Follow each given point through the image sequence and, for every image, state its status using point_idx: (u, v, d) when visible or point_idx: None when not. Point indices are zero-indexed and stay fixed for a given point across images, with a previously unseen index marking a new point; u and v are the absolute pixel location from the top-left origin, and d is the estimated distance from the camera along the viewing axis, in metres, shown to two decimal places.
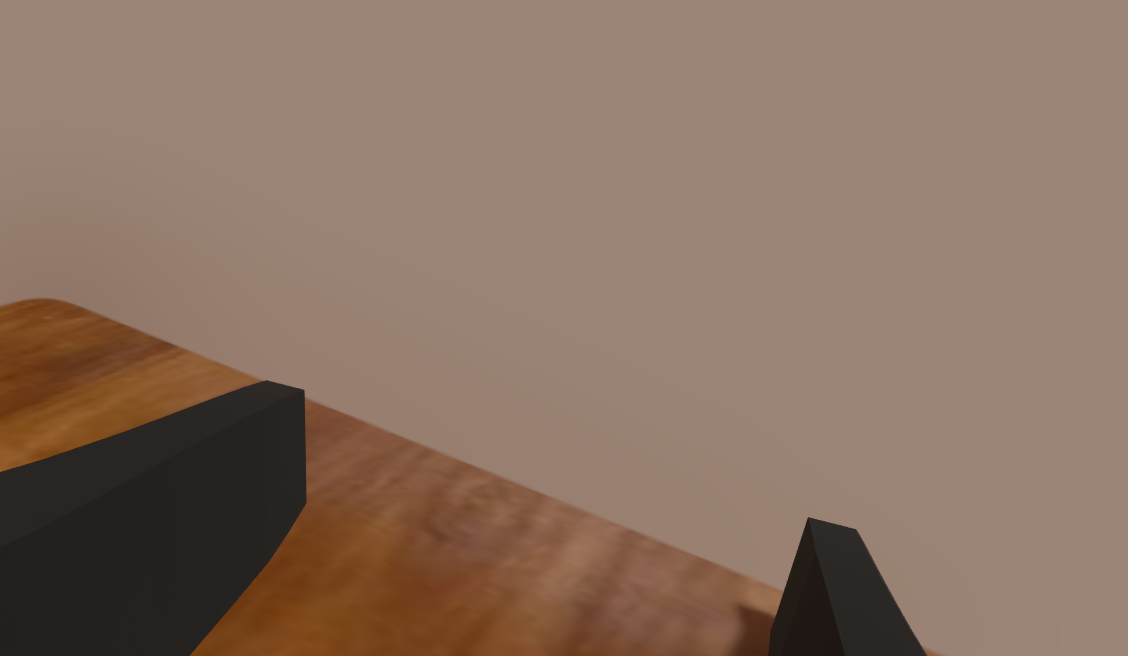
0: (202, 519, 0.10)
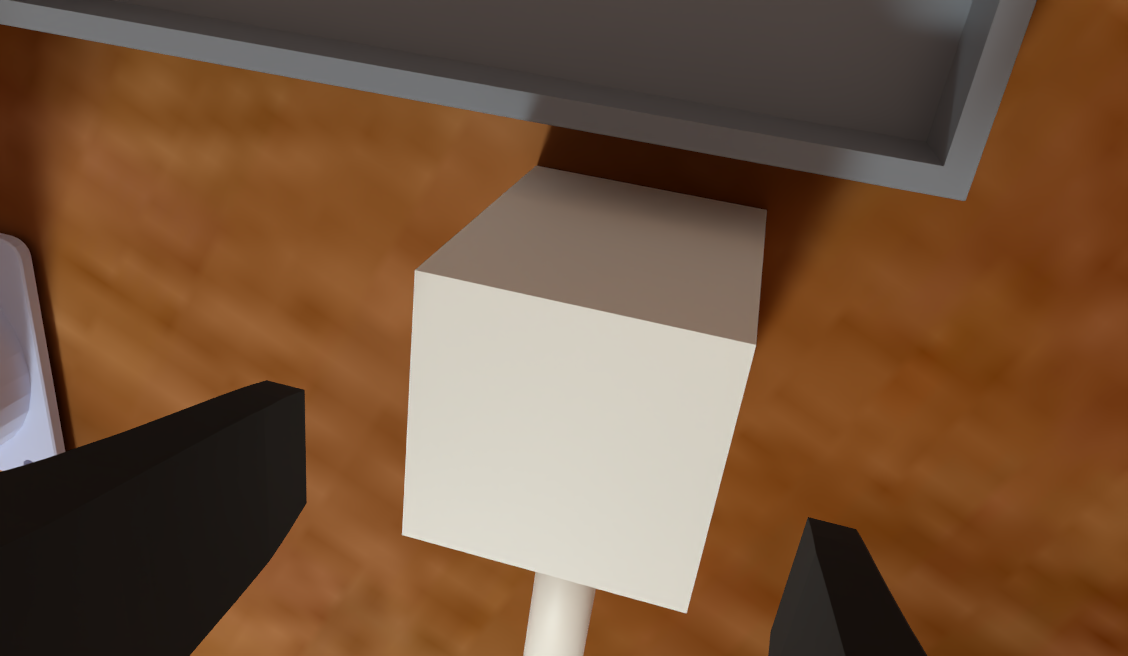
0: (203, 519, 0.10)
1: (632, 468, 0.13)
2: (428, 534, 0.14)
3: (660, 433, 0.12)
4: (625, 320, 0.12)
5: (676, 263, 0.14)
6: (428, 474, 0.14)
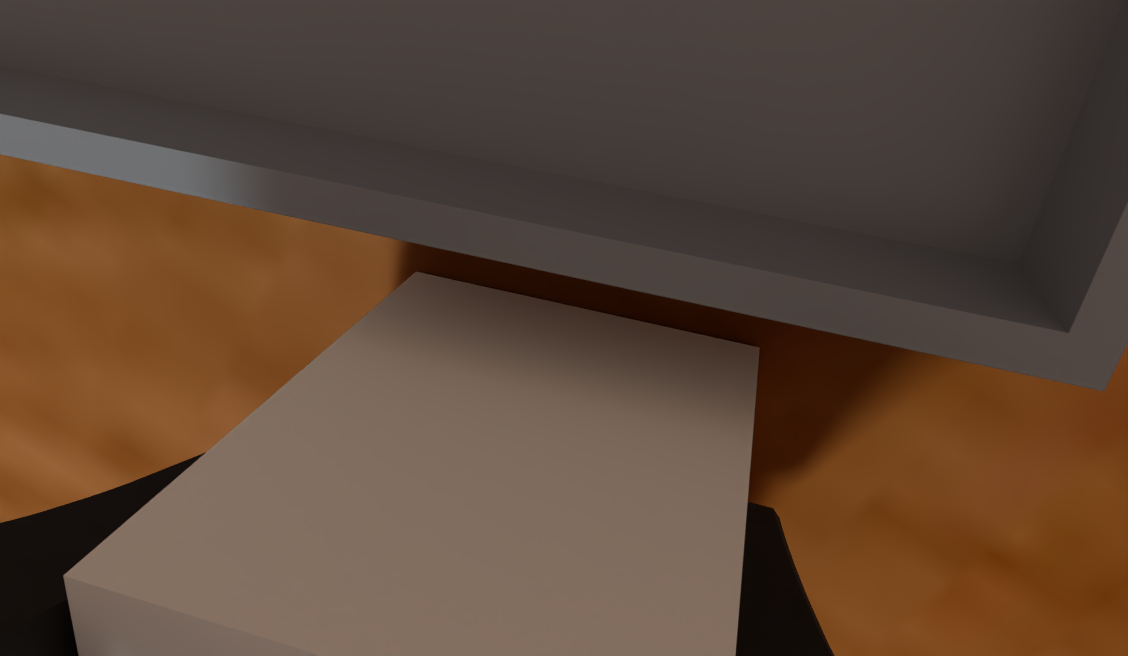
0: None
1: None
2: None
3: None
4: None
5: (595, 502, 0.08)
6: None
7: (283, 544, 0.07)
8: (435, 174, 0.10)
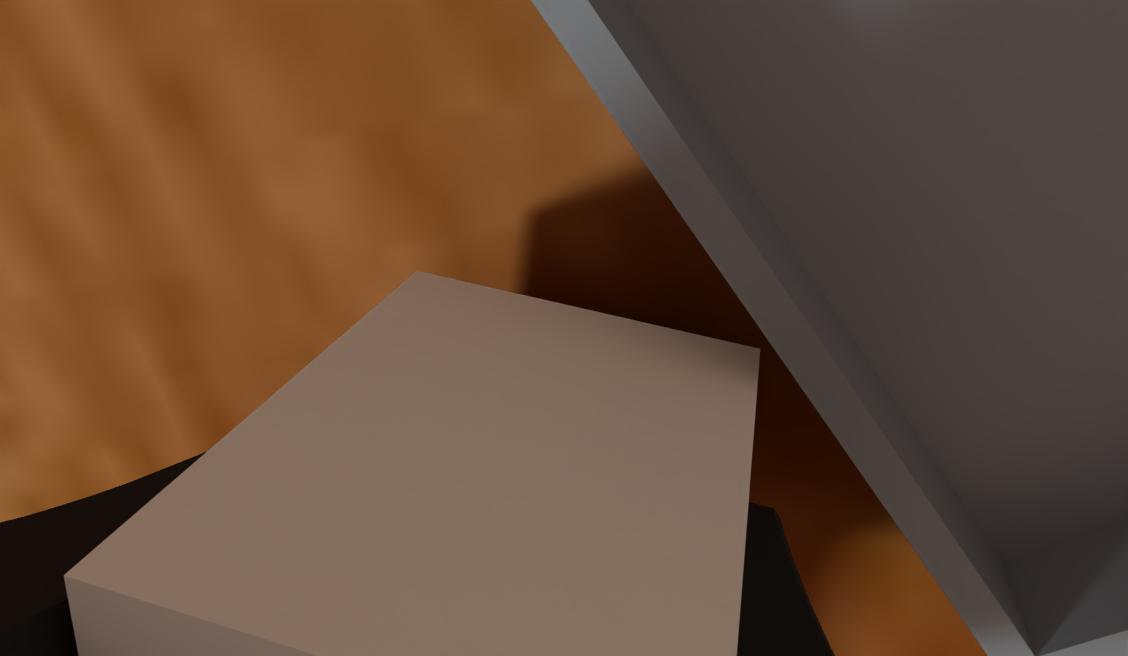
0: None
1: None
2: None
3: None
4: None
5: (596, 504, 0.08)
6: None
7: (284, 545, 0.07)
8: (756, 217, 0.10)
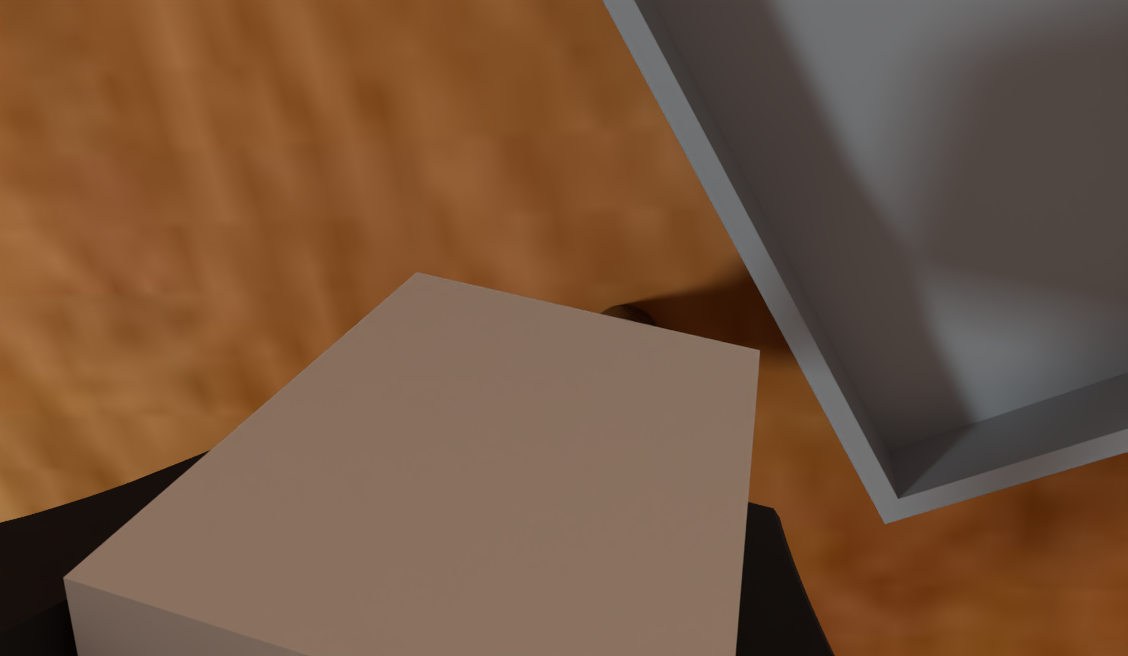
0: None
1: None
2: None
3: None
4: None
5: (595, 506, 0.08)
6: None
7: (283, 547, 0.07)
8: (759, 219, 0.17)
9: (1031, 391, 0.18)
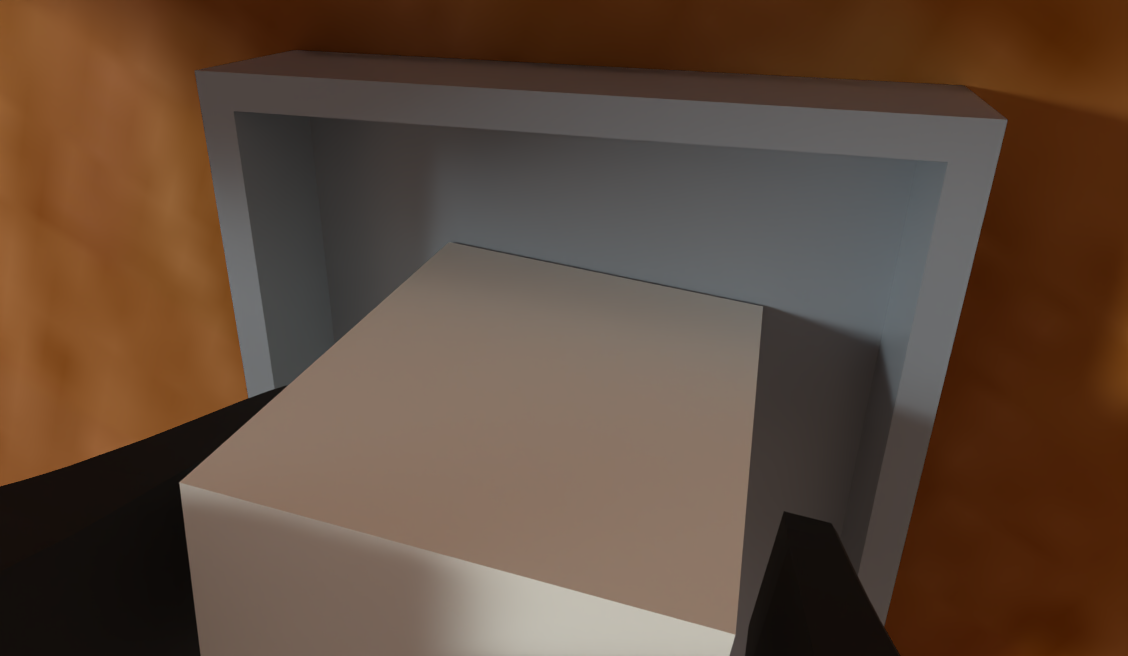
0: None
1: None
2: None
3: None
4: (517, 578, 0.07)
5: (620, 430, 0.09)
6: None
7: (357, 460, 0.08)
8: None
9: None
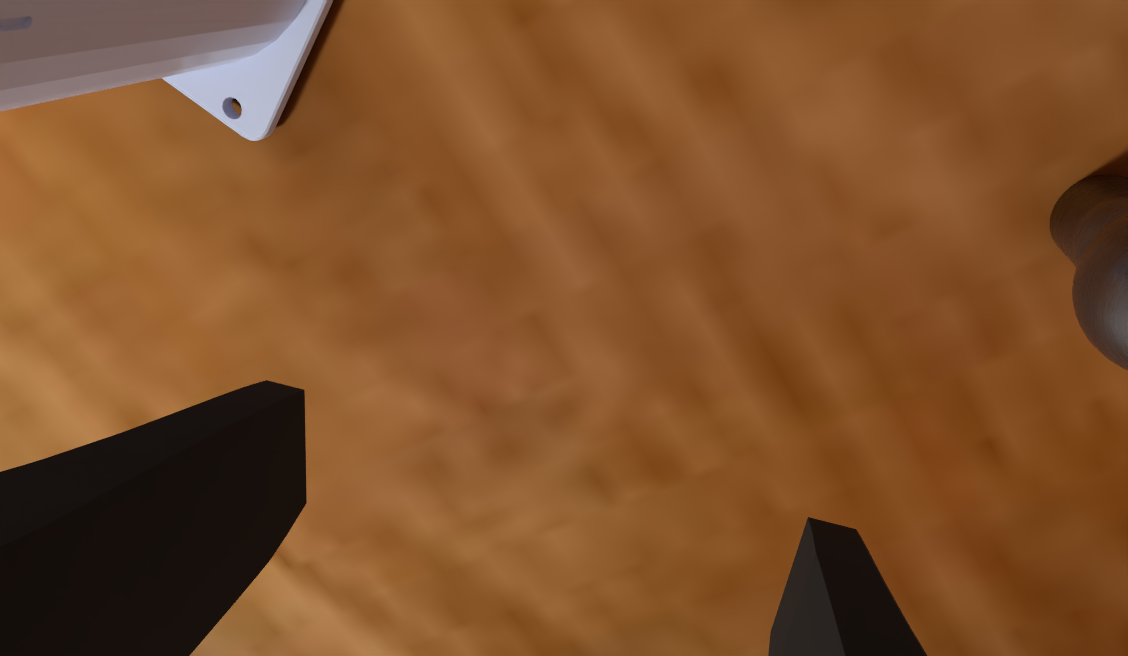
0: (203, 519, 0.10)
1: None
2: None
3: None
4: None
5: None
6: None
7: None
8: None
9: None
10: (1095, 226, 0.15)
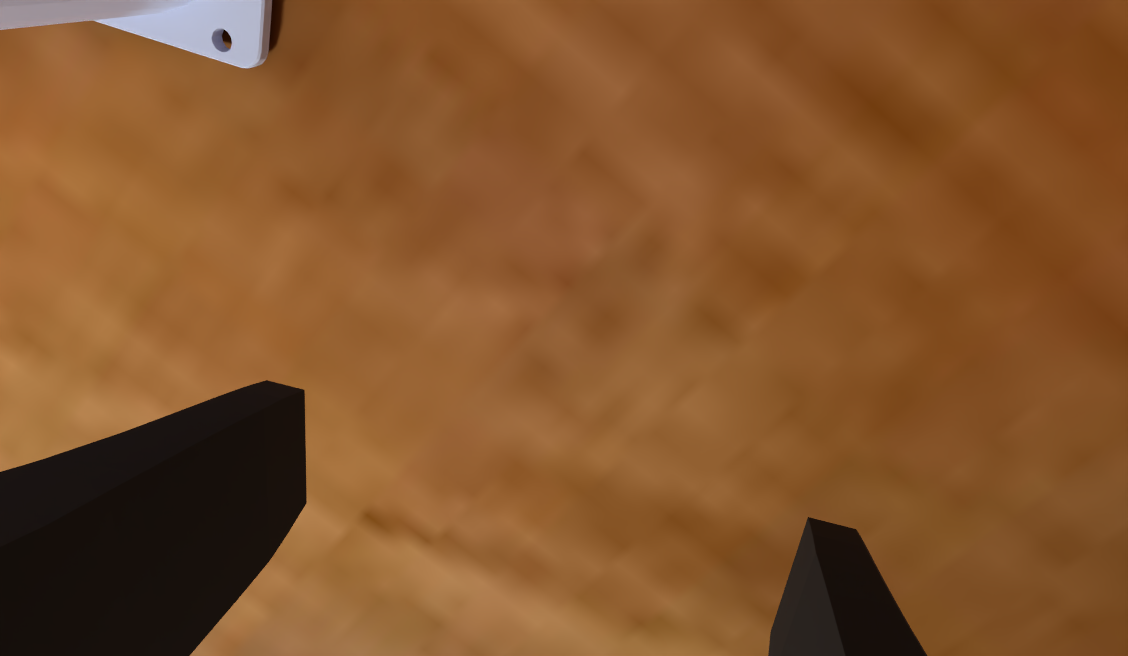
0: (203, 519, 0.10)
1: None
2: None
3: None
4: None
5: None
6: None
7: None
8: None
9: None
10: None
